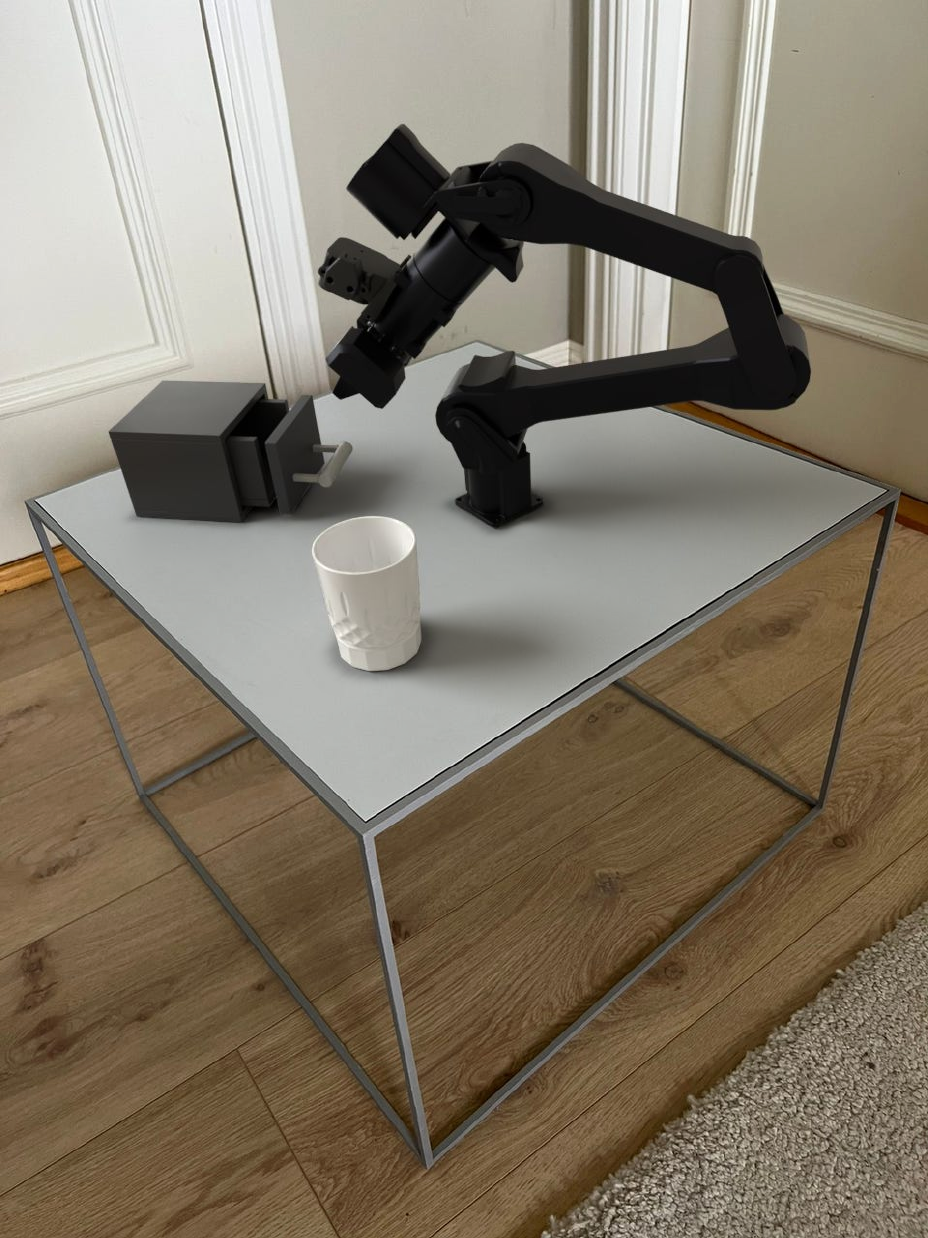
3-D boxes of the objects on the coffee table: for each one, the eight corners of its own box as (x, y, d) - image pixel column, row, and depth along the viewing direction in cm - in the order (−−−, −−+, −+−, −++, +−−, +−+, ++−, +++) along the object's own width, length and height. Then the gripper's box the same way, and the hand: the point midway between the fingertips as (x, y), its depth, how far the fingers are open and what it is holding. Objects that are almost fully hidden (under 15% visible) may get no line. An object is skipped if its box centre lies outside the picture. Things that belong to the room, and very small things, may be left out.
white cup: (415, 681, 74) (401, 577, 67) (319, 673, 75) (297, 570, 69) (437, 618, 80) (426, 518, 73) (348, 612, 81) (330, 513, 75)
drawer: (361, 464, 100) (351, 395, 95) (330, 516, 92) (317, 445, 87) (233, 458, 103) (217, 392, 98) (193, 509, 95) (173, 439, 90)
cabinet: (282, 465, 103) (265, 382, 97) (241, 522, 94) (219, 435, 88) (185, 461, 105) (162, 380, 99) (136, 516, 96) (108, 431, 90)
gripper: (396, 178, 85) (303, 299, 94) (332, 243, 71) (229, 378, 80) (487, 266, 88) (388, 375, 97) (442, 345, 74) (331, 464, 83)
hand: (337, 394), depth 89 cm, fingers closed
